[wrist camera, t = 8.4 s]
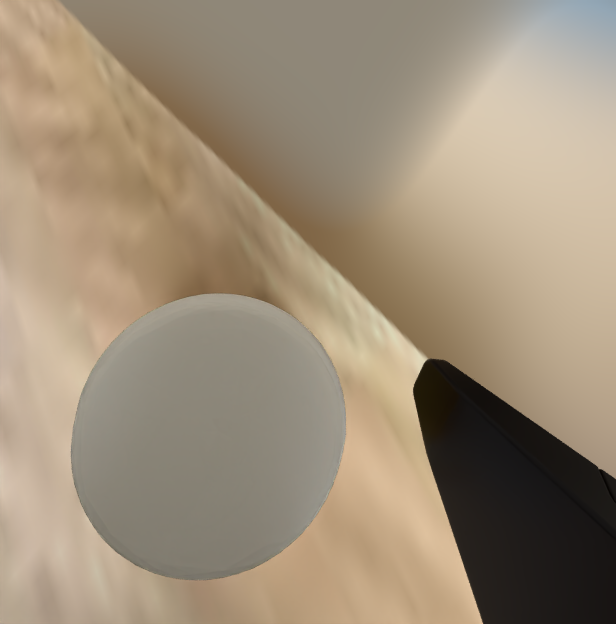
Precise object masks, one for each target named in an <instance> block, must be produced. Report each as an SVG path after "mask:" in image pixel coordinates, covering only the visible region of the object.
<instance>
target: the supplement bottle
mask: <svg viewBox="0 0 616 624" xmlns="http://www.w3.org/2000/svg"><path fill="white" fill-rule="evenodd" d="M345 435H346V412H345V402H344V397H343V392H342V388H341V384H340V381H339V377H338V375H337V372H336V370H335V367H334V365H333V363H332V361H331V359H330V357H329V356H328V354H327V352H326V351H325V349H324V348H323V346H322V345H321V343H320V342H319V341H318V340H317V338H316V337H315V336H314V335H313V334H312V333H311V332H310V331H309V330H308V329H307V328H306V327H305V326H304V325H303V324H302V323H301V322H299V321H298V320H297V319H296V318H294V317H293V316H291V315H290V314H288V313H287V312H285V311H283V310H282V309H280V308H278V307H276V306H274V305H272V304H270V303H267V302H264V301H262V300H259V299H256V298H252V297H248V296H243V295H236V294H224V293H218V294H202V295H196V296H190V297H186V298H183V299H179V300H176V301H173V302H170V303H167V304H165V305H163V306H161V307H159V308H157V309H155V310H153V311H151V312H149V313H147V314H145V315H144V316H142V317H141V318H139V319H138V320H136V321H135V322H134V323H133V324H131V325H130V326H129V327H127V328H126V329H125V330H124V331H123V332H122V333H121V334H120V335H119V336H118V337H117V338H116V339H115V340H114V341H113V342H112V343H111V344H110V345H109V347H108V348H107V349H106V350H105V351H104V353H103V354H102V355H101V357H100V358H99V360H98V361H97V363H96V364H95V366H94V368H93V369H92V371H91V373H90V375H89V377H88V379H87V381H86V383H85V386H84V388H83V391H82V393H81V396H80V400H79V403H78V407H77V412H76V417H75V422H74V426H73V434H72V444H71V464H72V473H73V479H74V484H75V487H76V490H77V493H78V496H79V499H80V502H81V505H82V507H83V509H84V511H85V513H86V515H87V516H88V518H89V520H90V522H91V523H92V525H93V527H94V528H95V529H96V531H97V532H98V533H99V535H100V536H101V537H102V538H103V539H104V540H105V541H106V542H107V543H108V544H109V545H110V546H111V547H112V548H113V549H114V550H115V551H116V552H117V553H118V554H120V555H121V556H123V557H124V558H126V559H127V560H129V561H130V562H132V563H133V564H135V565H136V566H139V567H141V568H143V569H146V570H148V571H150V572H152V573H155V574H159V575H162V576H166V577H171V578H176V579H185V580H211V579H217V578H224V577H228V576H232V575H236V574H239V573H241V572H244V571H247V570H250V569H252V568H255V567H256V566H258V565H260V564H262V563H264V562H266V561H268V560H269V559H271V558H272V557H274V556H275V555H277V554H279V553H280V552H282V551H283V550H284V549H285V548H286V547H288V546H289V545H290V544H291V543H292V542H294V541H295V540H296V539H297V538H298V537H299V536H300V535H301V534H302V533H303V532H304V530H305V529H306V528H307V527H308V526H309V524H310V523H311V522H312V521H313V519H314V518H315V517H316V515H317V513H318V512H319V510H320V509H321V507H322V505H323V504H324V502H325V500H326V499H327V496H328V494H329V491H330V490H331V488H332V486H333V483H334V479H335V477H336V474H337V471H338V468H339V464H340V461H341V457H342V453H343V447H344V442H345Z"/></svg>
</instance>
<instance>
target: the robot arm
mask: <svg viewBox="0 0 616 624" xmlns="http://www.w3.org/2000/svg"><path fill="white" fill-rule="evenodd" d="M413 395H414V400H415V404H416V409H417V413H418V418H419V422H420V427H421V431H422V436H423V440H424V445H425V449H426V453H427V456H428V459H429V463H430V466H431V469H432V472H433V475H434V478H435V481H436V484H437V487H438V490H439V493H440V496H441V499H442V502H443V505H444V508H445V511H446V514H447V517H448V520H449V523H450V526H451V529H452V532H453V535H454V538H455V541H456V544H457V547H458V550H459V553H460V556H461V559H462V562H463V565H464V568H465V571H466V574H467V577H468V580H469V583H470V586H471V589H472V592H473V595H474V598H475V601H476V604H477V607H478V610H479V613H480V616H481V619H482V622H483V624H616V479H615V478H613V477H612V476H611V475H609V474H608V473H606V472H605V471H603V470H602V469H598V467H597V466H596V465H595V464H593V463H592V462H590V461H589V460H588V459H586V458H585V457H583V456H582V455H580V454H579V453H577V452H576V451H574V450H573V449H572V448H570V447H569V446H567V445H566V444H565V443H563V442H562V441H560V440H559V439H557V438H556V437H555V436H553V435H552V434H550V433H549V432H547V431H546V430H545V429H543V428H542V427H540V426H539V425H537V424H536V423H534V422H533V421H532V420H530V419H529V418H527V417H526V416H524V415H523V414H522V413H520V412H519V411H517V410H516V409H514V408H513V407H512V406H510V405H509V404H507V403H506V402H504V401H503V400H501V399H500V398H499V397H497V396H496V395H494V394H493V393H492V392H490V391H489V390H487V389H486V388H484V387H483V386H481V385H480V384H479V383H477V382H476V381H474V380H473V379H471V378H470V377H468V376H467V375H466V374H464V373H463V372H461V371H460V370H459V369H457V368H456V367H454V366H453V365H451V364H450V363H449V362H447V361H445V360H439V359H428V360H426V361H425V363H424V365H423V367H422V369H421V371H420V373H419V375H418V377H417V379H416V382H415V384H414V388H413Z"/></svg>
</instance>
